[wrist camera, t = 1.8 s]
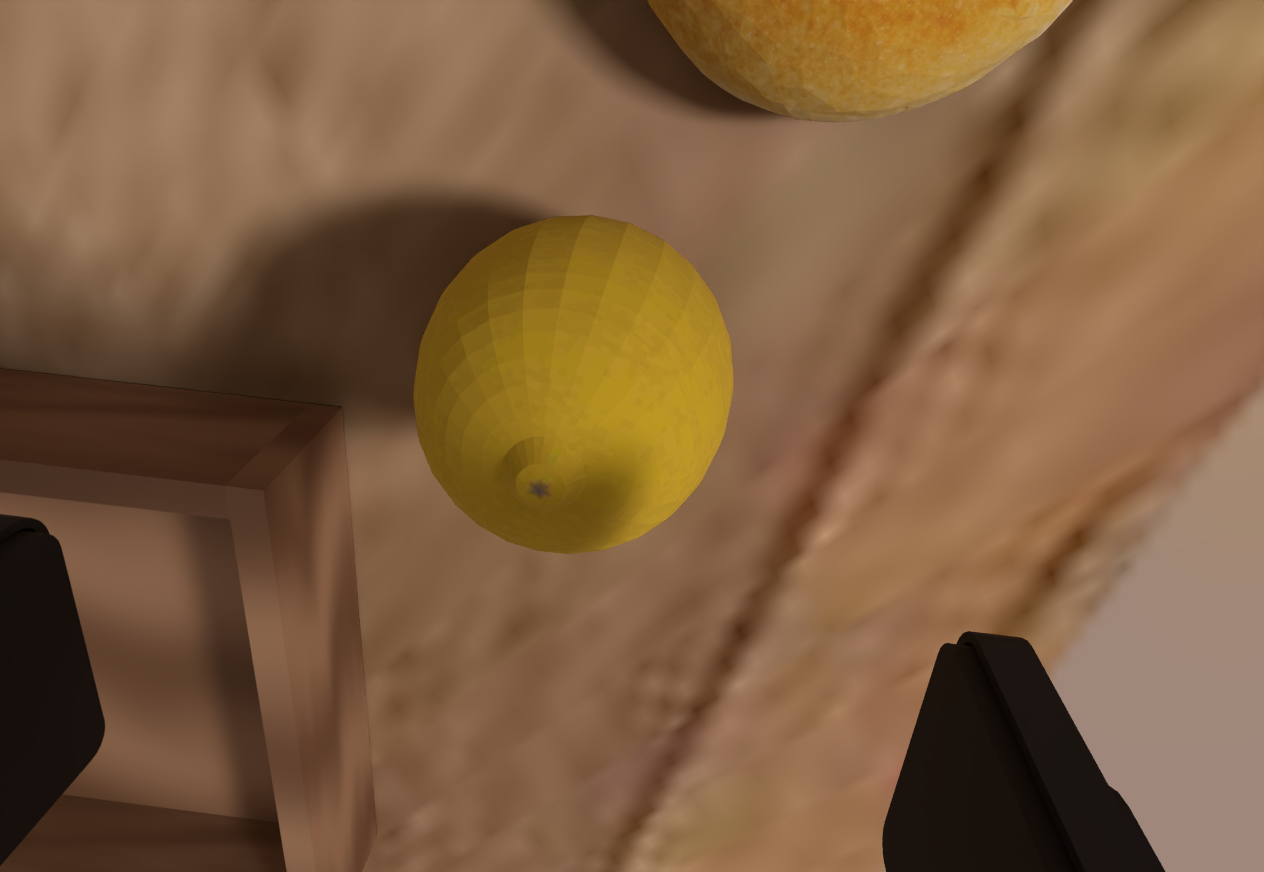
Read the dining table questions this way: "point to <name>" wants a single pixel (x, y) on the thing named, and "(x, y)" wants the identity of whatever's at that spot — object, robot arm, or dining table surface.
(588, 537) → the lemon
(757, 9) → the bread roll
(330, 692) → the bin
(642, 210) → the dining table surface
